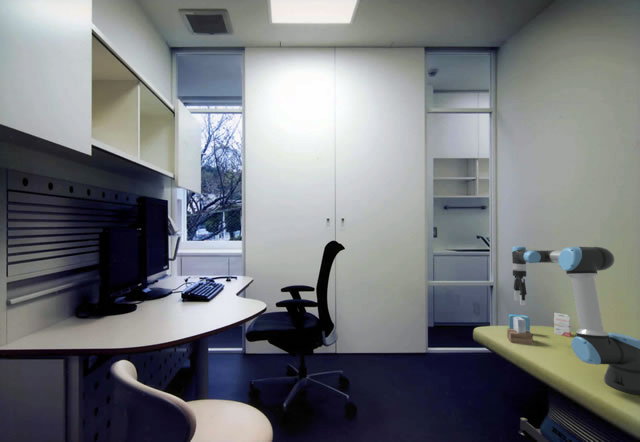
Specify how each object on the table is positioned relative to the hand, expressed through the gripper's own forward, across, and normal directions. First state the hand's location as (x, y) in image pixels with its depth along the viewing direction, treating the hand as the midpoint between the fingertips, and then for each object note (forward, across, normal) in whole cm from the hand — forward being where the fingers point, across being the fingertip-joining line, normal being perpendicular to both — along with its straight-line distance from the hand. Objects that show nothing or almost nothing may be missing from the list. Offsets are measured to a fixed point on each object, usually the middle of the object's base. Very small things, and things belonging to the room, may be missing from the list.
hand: (520, 302), depth 199 cm
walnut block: (+25, 0, -1) cm, 25 cm away
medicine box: (+19, 0, -1) cm, 19 cm away
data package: (+25, -18, +3) cm, 31 cm away
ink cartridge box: (+25, -24, +30) cm, 46 cm away
